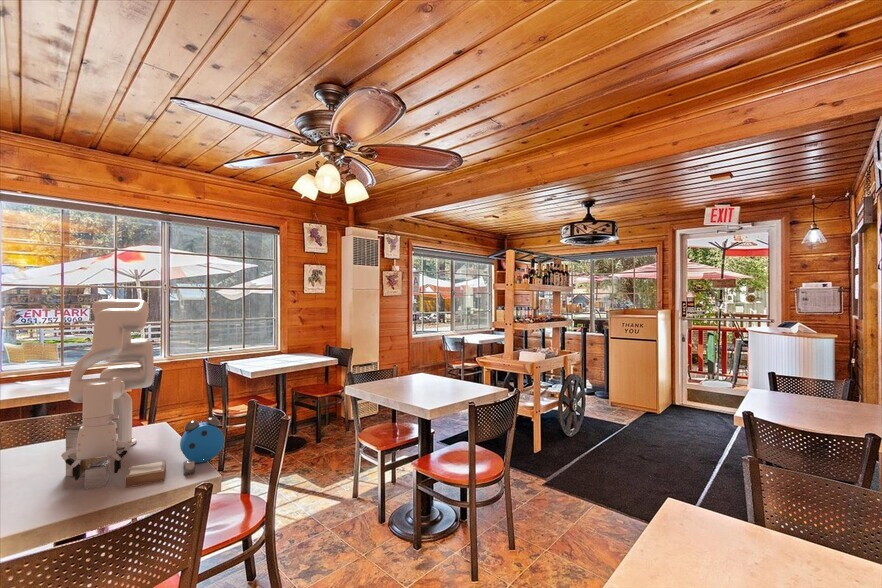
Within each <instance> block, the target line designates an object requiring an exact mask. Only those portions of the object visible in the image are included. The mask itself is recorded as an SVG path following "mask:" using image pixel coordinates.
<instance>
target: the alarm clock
mask: <svg viewBox="0 0 882 588" xmlns="http://www.w3.org/2000/svg"><path fill="white" fill-rule="evenodd" d="M220 425H221V422H220V420H219V419H218V418H217V417H216V416H215V417H214V416H213V417H208V418H207V419H206V420H204V419H203V420H200V422H199V420H194V419H193V420H189V421H188V422H187V423H186V424H185V425H184V428H183V430H184V432H183V434H182V436H181V438H180V442H179V447H180V450H181V452H182V454H183V456H184V458H186V459H187V461H188V460H195V464H196V463H197V464H198V463H200V464H201V463H206V462H208V461H210V460H212V459H214V458H215V457H216V456H217V455H218V454H220V452H221V451H222V449H223V446H224V442H225V440H224V439H225V438H224V434H223V432H222V430H221V429H220V428H219V426H220ZM203 459H204V460H203ZM205 461H206V462H205Z"/></svg>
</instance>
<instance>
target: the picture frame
mask: <svg viewBox="0 0 882 588" xmlns="http://www.w3.org/2000/svg"><path fill="white" fill-rule="evenodd" d="M166 464H167V462H166V460H162V461H156V462H150V463H143V464H139V465H138V464H137V465H132V466H129V468H128V470H127V472H126V475H125V480H124V482H125V484H124V487H125V488H130V487H136V486H140V485H146V484H152V483H157V482H164V481H165V476H166Z"/></svg>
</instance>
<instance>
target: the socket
mask: <svg viewBox="0 0 882 588" xmlns="http://www.w3.org/2000/svg"><path fill="white" fill-rule="evenodd" d="M195 464H196V462H195V460H188V459H187V460H185V461H184V462H183V476H187V477H188V475H189V476H192V475H195V473H196V471H195V470H196V466H195Z"/></svg>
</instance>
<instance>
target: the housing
mask: <svg viewBox="0 0 882 588" xmlns="http://www.w3.org/2000/svg"><path fill="white" fill-rule="evenodd" d="M109 479H110V459H107V460H105V461H99V462H92V463H89V465H88V467H87V468H86V470H85V476H84V490H85V491H87V490H92V489H97V488H101V487H102V488H103V487H106V486H107V484H108V481H109Z"/></svg>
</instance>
